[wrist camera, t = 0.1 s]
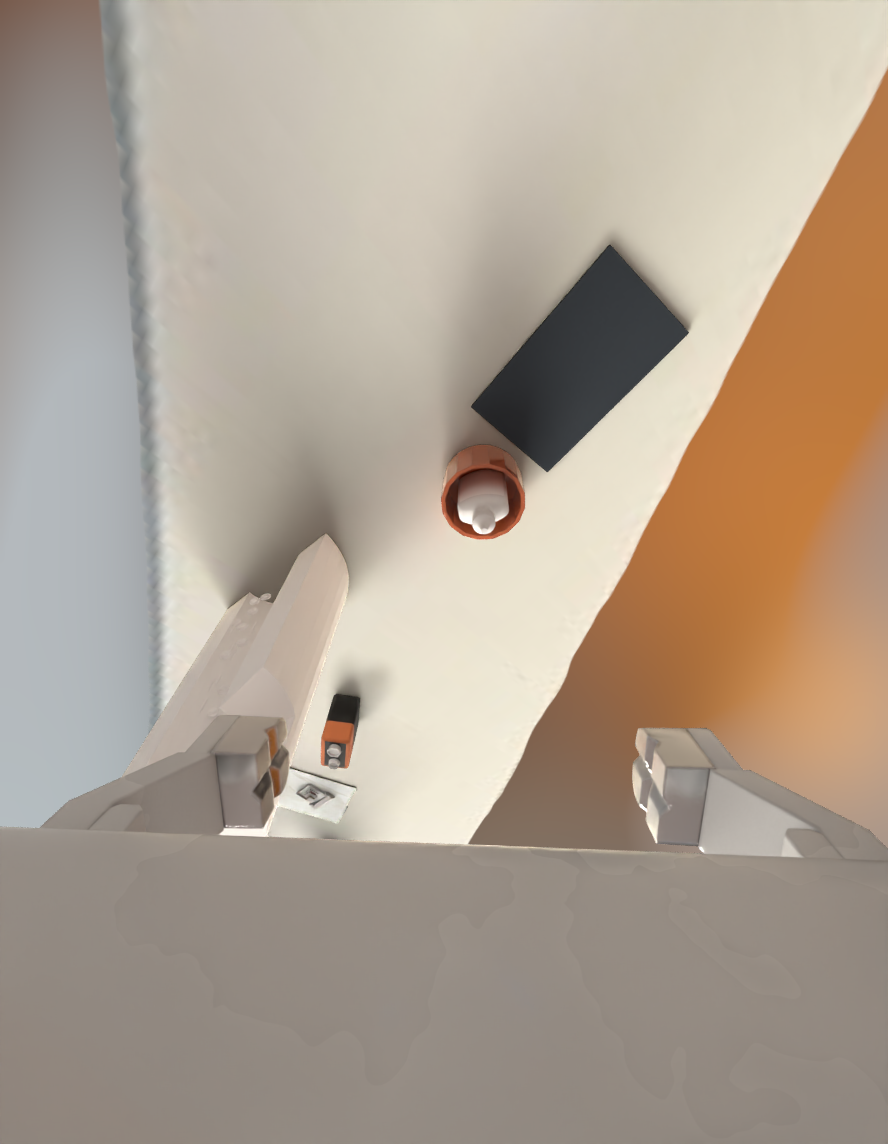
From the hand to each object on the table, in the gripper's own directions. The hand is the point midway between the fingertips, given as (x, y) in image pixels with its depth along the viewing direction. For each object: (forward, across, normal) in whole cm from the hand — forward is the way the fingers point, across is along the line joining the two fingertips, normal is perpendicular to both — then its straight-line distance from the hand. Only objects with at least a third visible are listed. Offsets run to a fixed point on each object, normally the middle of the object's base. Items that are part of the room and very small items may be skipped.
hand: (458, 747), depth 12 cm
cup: (+54, -2, -1) cm, 55 cm away
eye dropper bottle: (+54, -2, -1) cm, 54 cm away
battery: (+68, +20, +37) cm, 80 cm away
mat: (+50, -11, -13) cm, 53 cm away
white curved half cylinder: (+60, +24, +16) cm, 67 cm away
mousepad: (+76, +25, +61) cm, 100 cm away
